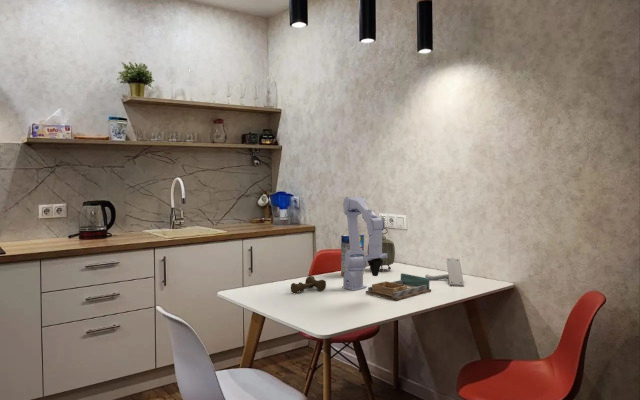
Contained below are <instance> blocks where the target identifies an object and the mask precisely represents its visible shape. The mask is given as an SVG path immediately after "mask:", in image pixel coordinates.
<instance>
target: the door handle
mask: <svg viewBox="0 0 640 400" xmlns="http://www.w3.org/2000/svg"><path fill="white" fill-rule="evenodd" d="M445 260H446V265H447V266H446V267H447V274H439V275H430V274H425V276H424V278H430V281H439V280H448V283H449V286H450V287H464V285H465V284H464V283H465V282H464V278H463V271H462V264H461V259H460V258H451V257H450V258H449V257H446V259H445Z"/></svg>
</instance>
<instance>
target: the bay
mask: <svg viewBox="0 0 640 400" xmlns="http://www.w3.org/2000/svg"><path fill="white" fill-rule="evenodd" d="M430 281H431V280H430V278H425V276H418V275H413V274H407V273H404V272H403V273H400V279H398V280H395V281H394V280H393V281H391V282H392V283H396V284H401V285H406V286H407V289H406V290H402V291H398V292H394V293H392V296H389V295H385V294H381V293H377V292H372V286H368V288H367V290H365V294H367V295H372V296H374V297H379V298H382V299H383V298H384V299H387V300H392V301H396V302H398V301H401V300H405V299H409V298H412V297H415V296H419V295H424V294H427V293H431V292H432V289H430Z"/></svg>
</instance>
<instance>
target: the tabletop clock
mask: <svg viewBox="0 0 640 400" xmlns="http://www.w3.org/2000/svg"><path fill="white" fill-rule="evenodd" d="M384 230H386V232H384V233H383V232H382V253H386V254H387V258H381V260H383V263H382V264H381V267H380V272H383V271H384V269H383V267H384V266H387V269H388V270H391V268H392V267H391V266H392V265H393V264H394V262H395V257H396V249H395V243H394V242H393V241H392V240H390V239H387V238H386V236H385V235H386V234H387V233H388V232H389V231H388V229H387V228H386V227H384ZM367 255H369V243H368V245H367ZM390 265H391V266H390ZM369 270H371V268H370V267H369Z"/></svg>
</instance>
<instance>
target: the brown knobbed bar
mask: <svg viewBox="0 0 640 400" xmlns="http://www.w3.org/2000/svg"><path fill="white" fill-rule="evenodd" d="M312 288H315V289H317V291H319V292H324V290H326V288H327V281H326V280H325V279H319V280H316V278H315V276H313V275H309V276H307V277H306V279H305V282H304V283H303V282H301V281H300V282H298V283H295V282H293V283H291V284H290V292H291V293H292V294H294V293H295V295H297V294H298V293H299V292H304V291H305V289H312Z"/></svg>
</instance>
